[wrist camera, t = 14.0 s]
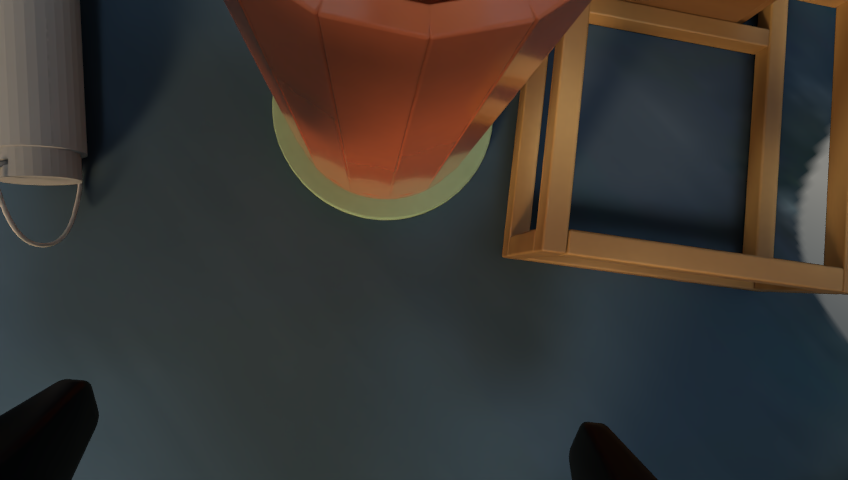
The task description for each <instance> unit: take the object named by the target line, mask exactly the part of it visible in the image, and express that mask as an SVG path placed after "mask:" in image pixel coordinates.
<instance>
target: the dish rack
mask: <svg viewBox="0 0 848 480" xmlns="http://www.w3.org/2000/svg"><path fill="white" fill-rule="evenodd" d="M798 1H803V2H808V3H813V4H818V5H823V6H828V7H833V8H836V26H835V46H834V67H833V87H832V107H831V128H830V148H829V169H828V189H827V190H828V191H827V211H826V232H825V251H824V265H818V264H811V263H804V262H797V261H790V260H783V259H776V258H773V255H774V238H775V221H776V204H777V187H778V170H779V153H780V136H781V119H782V102H783V84H784V67H785V50H786V33H787V16H788V0H592V1H591V2H590V3H589V4H588V6H587V7H586V8H585V9H584V11H583V12H582V13H581V14H580V16H579V17H578V18H577V19H576V21H575V22H574V23H573V24H572V26H571V27H570V28H569V29H568V31H567V32H566V33H565V34H564V35H563V37H562V38H561V39H560V40H559V42H558V43H557V44H556V45H555V53H554V63H553V72H552V82H551V91H550V101H549V111H548V120H547V130H546V139H545V149H544V158H543V168H542V177H541V187H540V197H539V206H538V216H537V225H536V229H534V230H530V225H531V215H532V206H533V196H534V187H535V177H536V168H537V159H538V149H539V140H540V130H541V121H542V111H543V102H544V92H545V83H546V73H547V64H548V55H547V57H546V58H545V59H544V60H543V62H542V63H541V64H540V65H539V67H538V68H537V69H536V70H535V72H534V73H533V74H532V75H531V77H530V78H529V79H528V80H527V81H526V83H525V84H524V85H523V86H522V88H521V89H520V98H519V107H518V116H517V125H516V134H515V143H514V152H513V161H512V170H511V179H510V188H509V197H508V206H507V215H506V224H505V233H504V242H503V251H502V257H504V258H511V259H518V260H525V261H533V262H540V263H548V264H555V265H563V266H570V267H578V268H585V269H592V270H600V271H607V272H615V273H622V274H630V275H637V276H645V277H652V278H660V279H667V280H675V281H682V282H689V283H697V284H704V285H712V286H719V287H727V288H734V289H743V290H750V291H759V292H787V293H816V294H847V295H848V0H798ZM757 13H758V22H757V27H754V26H749V25H744V24H743V23H744V22H746V21H747V20H748V19H750V18H751V17H753V16H754V15H756V14H757ZM589 24H594V25H600V26H605V27H610V28H615V29H621V30H626V31H631V32H637V33H642V34H647V35H653V36H658V37H663V38H668V39H674V40H679V41H684V42H690V43H695V44H700V45H706V46H711V47H716V48H721V49H727V50H732V51H737V52H743V53H748V54H755V68H754V84H753V99H752V115H751V130H750V146H749V161H748V177H747V192H746V208H745V223H744V239H743V254H741V253H734V252H727V251H720V250H713V249H706V248H699V247H692V246H685V245H678V244H671V243H664V242H657V241H650V240H643V239H636V238H629V237H622V236H615V235H608V234H601V233H593V232H586V231H579V230H572V229H570V230H568V228H569V218H570V208H571V197H572V187H573V177H574V167H575V157H576V147H577V136H578V126H579V116H580V106H581V96H582V86H583V75H584V65H585V55H586V45H587V35H588V25H589Z"/></svg>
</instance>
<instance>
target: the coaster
mask: <svg viewBox="0 0 848 480" xmlns="http://www.w3.org/2000/svg"><path fill="white" fill-rule="evenodd" d="M272 115H273V122H274V129H275V133H276V136H277V140H278V143H279V146H280V148H281V150H282V153H283V155H284V157H285V159H286V160H287V162H288V164H289V165H290V167H291V169H292V170H293V172H294V173H295V174H296V176H297V177H298V178H299V179H300V181H301V182H302V183H303V184H304V185H305V186H306V187H307V188H308V189H309V190H310V191H311V192H312V193H313V194H314V195H316V196H317V197H319V198H320V199H321V200H323V201H324V202H325V203H327V204H329V205H331V206H333V207H334V208H336V209H338V210H341V211H343V212H346V213H348V214H351V215H354V216H358V217H362V218H366V219H375V220H398V219H405V218H410V217H414V216H417V215H421V214H423V213H426V212H428V211H430V210H433V209H435V208H437V207H438V206H440V205H442V204H443V203H445V202H447V201H448V200H449V199H450V198H452V197H453V196H454V195H455V194H457V193H458V192H459V191H460V190H461V189H462V188H463V187H464V186H465V185H466V184H467V183H468V182H469V180H470V179H471V178H472V176H473V175H474V174H475V172H476V171H477V169H478V168H479V166H480V164H481V162H482V160H483V158H484V156H485V153H486V151H487V148H488V145H489V142H490V137H491V133H492V125H491V126H490V127H489V129H488V130H487V131H486V132H485V134H484V135H483V136H482V137H481V139H480V140H479V141H478V142H477V144H476V145H475V146H474V147H473V149H472V150H471V151H470V152H469V154H468V155H467V156H466V157H465V159H464V160H463V161H462V162H461V163H460V165H459V166H458V167H457V168H456V169H455V170H454V171H453V172H451V173H450V174H449V175H448V176H447V177H446V178H444V179H443V180H442V181H441V182H439V183H438V184H436V185H435V186H433V187H432V188H430V189H428V190H426V191H423V192H421V193H419V194H416V195H413V196H409V197H405V198H398V199H375V198H368V197H364V196H360V195H357V194H354V193H352V192H349V191H347V190H345V189H343V188H341V187H339V186H337V185H336V184H334V183H333V182H331V181H330V180H329V179H327V178H326V177H325V176H324V175H323V174H322V173H321V172H319V171H318V170H317V169H316V167H315V166H314V165H313V164H312V162H311V161H310V160H309V159H308V157H307V155H306V154H305V152H304V151H303V149H302V147H301V146H300V145H299V143H298V142H297V140H296V139H295V137H294V135H293V133H292V131H291V129H290V127H289V125H288V123H287V121H286V119H285V118H284V116H283V114H282V112H281V110H280V108H279V106H278V104H277V102H276V100H275V98H274V96H273V100H272Z"/></svg>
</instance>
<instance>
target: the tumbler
mask: <svg viewBox="0 0 848 480" xmlns="http://www.w3.org/2000/svg"><path fill="white" fill-rule="evenodd" d="M591 1H592V0H224V2H225V4H226V6H227V8H228V10H229V12H230V14H231V16H232V18H233V20H234V22H235V23H236V25H237V27H238V29H239V31H240V33H241V35H242V37H243V39H244V41H245V43H246V45H247V47H248V48H249V50H250V52H251V54H252V56H253V58H254V60H255V62H256V64H257V66H258V68H259V70H260V71H261V73H262V75H263V77H264V79H265V81H266V83H267V85H268V87H269V89H270V91H271V93H272V95H273V96H274V98H275V100H276V102H277V104H278V106H279V108H280V110H281V112H282V114H283V116H284V118H285V119H286V121H287V123H288V125H289V127H290V129H291V131H292V133H293V135H294V137H295V139H296V140H297V142H298V143H299V145H300V146H301V147H302V149H303V151H304V152H305V154H306V155H307V157H308V159H309V160H310V161H311V162H312V164H313V165H314V166H315V167H316V169H317V170H318V171H319V172H321V173H322V174H323V175H324V176H325V177H326V178H327V179H329V180H330V181H331V182H333V183H334V184H336V185H337V186H339V187H341V188H343V189H345V190H347V191H349V192H352V193H354V194H357V195H360V196H364V197H368V198H375V199H398V198H405V197H409V196H413V195H416V194H419V193H421V192H423V191H426V190H428V189H430V188H432V187H433V186H435V185H436V184H438V183H439V182H441V181H442V180H443V179H444V178H446V177H447V176H448V175H449V174H450V173H451V172H453V171H454V170H455V169H456V168H457V167H458V166H459V165H460V163H461V162H462V161H463V160H464V159H465V157H466V156H467V155H468V154H469V152H470V151H471V150H472V149H473V147H474V146H475V145H476V144H477V142H478V141H479V140H480V139H481V137H482V136H483V135H484V134H485V132H486V131H487V130H488V129H489V127H490V126H491V125H492V124H493V122H494V121H495V120H496V119H497V118H498V116H499V115H500V114H501V113H502V111H503V110H504V109H505V108H506V106H507V105H508V104H509V103H510V101H511V100H512V99H513V98H514V96H515V95H516V94H517V93H518V91H519V90H520V89H521V88H522V86H523V85H524V84H525V83H526V81H527V80H528V79H529V78H530V77H531V75H532V74H533V73H534V72H535V70H536V69H537V68H538V67H539V65H540V64H541V63H542V62H543V60H544V59H545V58H546V57H547V55H548V54H549V53H550V52H551V50H552V49H553V48H554V47H555V45H556V44H557V43H558V42H559V40H560V39H561V38H562V37H563V35H564V34H565V33H566V32H567V31H568V29H569V28H570V27H571V26H572V24H573V23H574V22H575V21H576V19H577V18H578V17H579V16H580V14H581V13H582V12H583V11H584V9H585V8H586V7H587V6H588V4H589V3H590V2H591Z"/></svg>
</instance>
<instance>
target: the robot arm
mask: <svg viewBox="0 0 848 480" xmlns="http://www.w3.org/2000/svg"><path fill="white" fill-rule="evenodd" d="M98 418H99V412H98V408H97V404H96V401H95V397H94V393H93V390H92V386H91V384H90V383H89V382H88V381H84V380H72V379H64V380H61V381H58V382H56V383H55V384H53V385H51V386H50V387H48V388H46V389H45V390H43V391H41V392H39V393H38V394H36V395H34V396H33V397H31V398H29V399H28V400H26V401H24V402H23V403H21V404H19V405H18V406H16V407H14V408H12V409H11V410H9V411H7V412H6V413H4V414H2V415H1V416H0V480H72V477H73V475H74V473H75V471H76V469H77V467H78V464H79V462H80V460H81V458H82V456H83V454H84V452H85V449H86V447H87V445H88V443H89V441H90V439H91V437H92V434H93V432H94V430H95V428H96V426H97V422H98ZM569 462H570V469H571V476H572V480H658V479H657V478H656V477H655V476H654V475H653V474H652V473H651V472H650V471H649V470H648V469H647V468H646V467H645V466H644V465H643V464H642V463H641V461H640V460H639V459H638V458H637V457H636V456H635V455H634V454H633V453H632V452H631V451H630V450H629V449H628V448H627V447H626V446H625V445H624V443H623V442H622V441H621V440H620V439H619V438H618V437H617V436H616V435H615V434H614V433H613V432H612V431H611V430H610V429H609V428H608V427H607V426H606V425H604V424H602V423H593V422H584V423H582V424H581V426H580V427H579V430H578V432H577V434H576V437H575V439H574V441H573V444H572V446H571V448H570V453H569Z"/></svg>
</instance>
